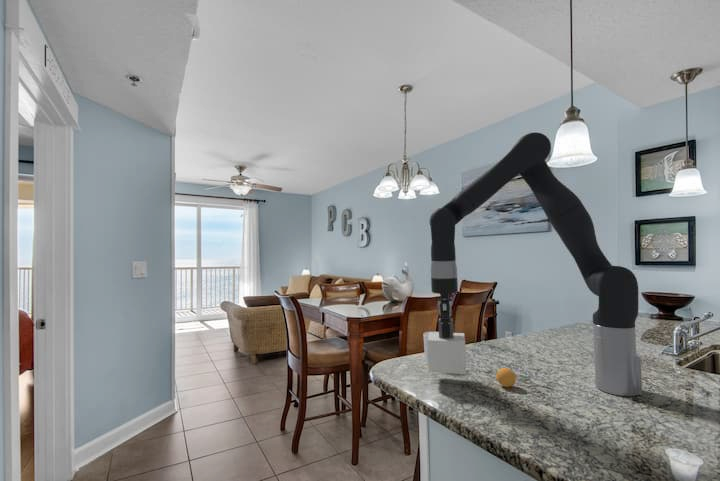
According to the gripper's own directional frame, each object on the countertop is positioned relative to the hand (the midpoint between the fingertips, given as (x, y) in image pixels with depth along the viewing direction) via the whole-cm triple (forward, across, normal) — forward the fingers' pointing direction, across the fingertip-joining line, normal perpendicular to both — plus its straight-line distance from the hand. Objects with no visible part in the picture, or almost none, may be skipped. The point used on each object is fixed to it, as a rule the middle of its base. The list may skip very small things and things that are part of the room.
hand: (446, 334), depth 100 cm
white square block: (+9, 0, 0) cm, 9 cm away
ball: (+11, 0, -16) cm, 19 cm away
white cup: (+14, +16, +4) cm, 22 cm away
